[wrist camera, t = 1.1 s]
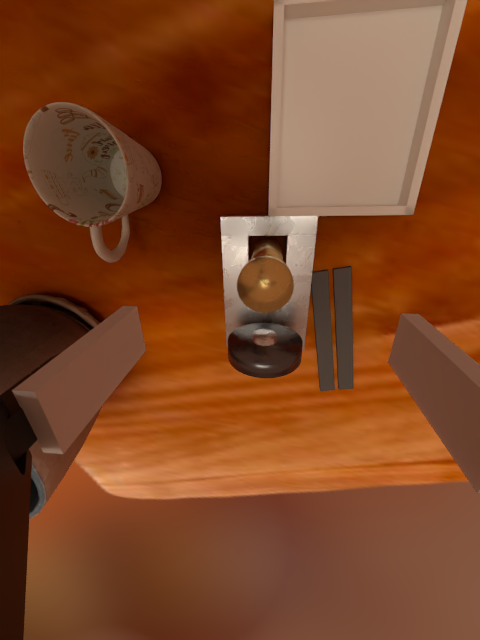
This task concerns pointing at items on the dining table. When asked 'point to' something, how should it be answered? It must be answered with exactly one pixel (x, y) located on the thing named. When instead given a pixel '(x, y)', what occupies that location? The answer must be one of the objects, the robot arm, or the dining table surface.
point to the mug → (89, 170)
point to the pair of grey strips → (342, 324)
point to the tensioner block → (274, 327)
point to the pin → (265, 278)
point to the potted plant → (29, 353)
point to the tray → (356, 102)
